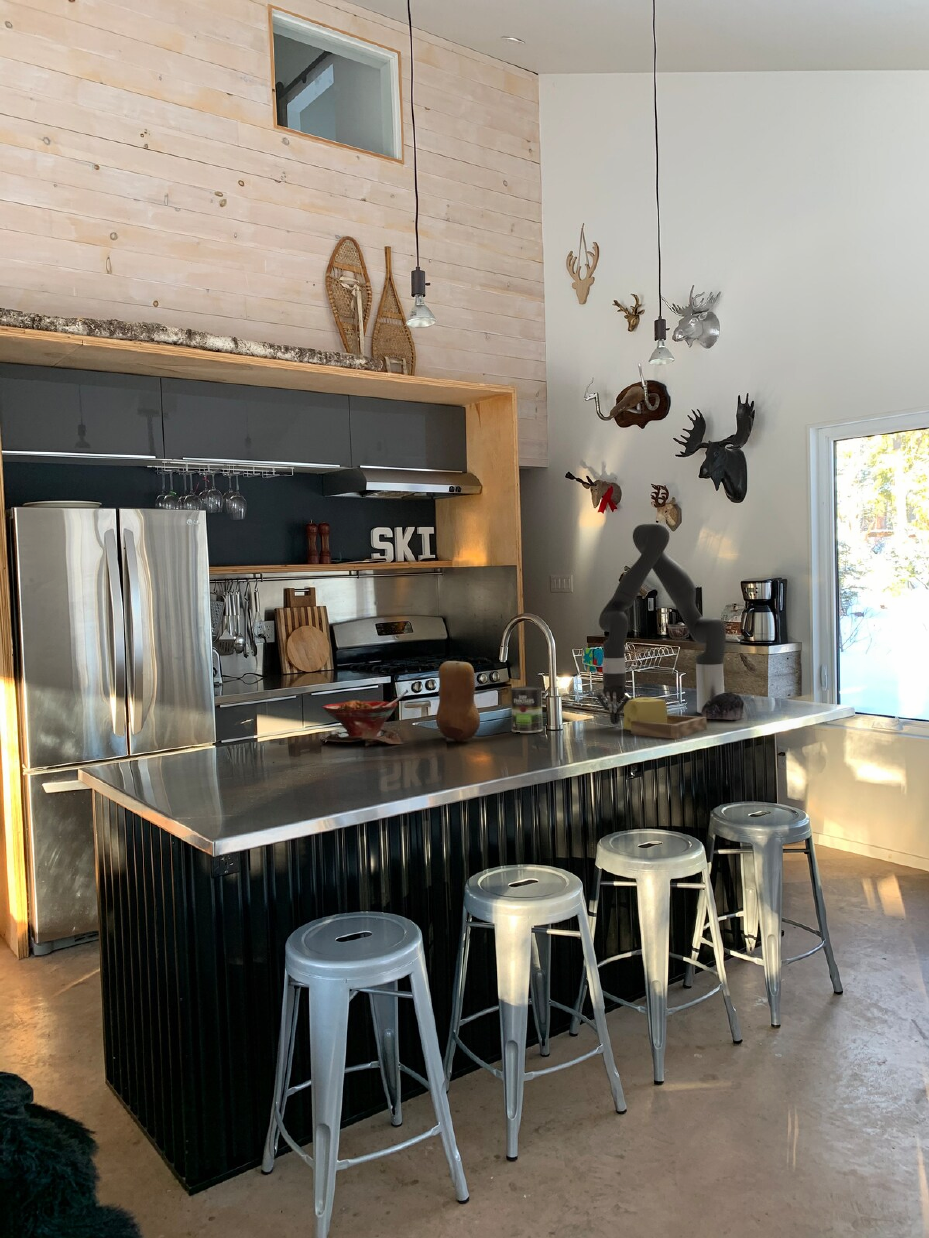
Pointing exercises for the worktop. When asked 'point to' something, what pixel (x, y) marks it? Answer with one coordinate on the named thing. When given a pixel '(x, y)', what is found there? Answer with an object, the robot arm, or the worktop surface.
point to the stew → (362, 721)
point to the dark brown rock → (724, 707)
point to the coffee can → (526, 709)
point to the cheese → (644, 711)
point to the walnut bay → (670, 726)
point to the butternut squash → (457, 701)
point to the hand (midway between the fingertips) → (615, 723)
